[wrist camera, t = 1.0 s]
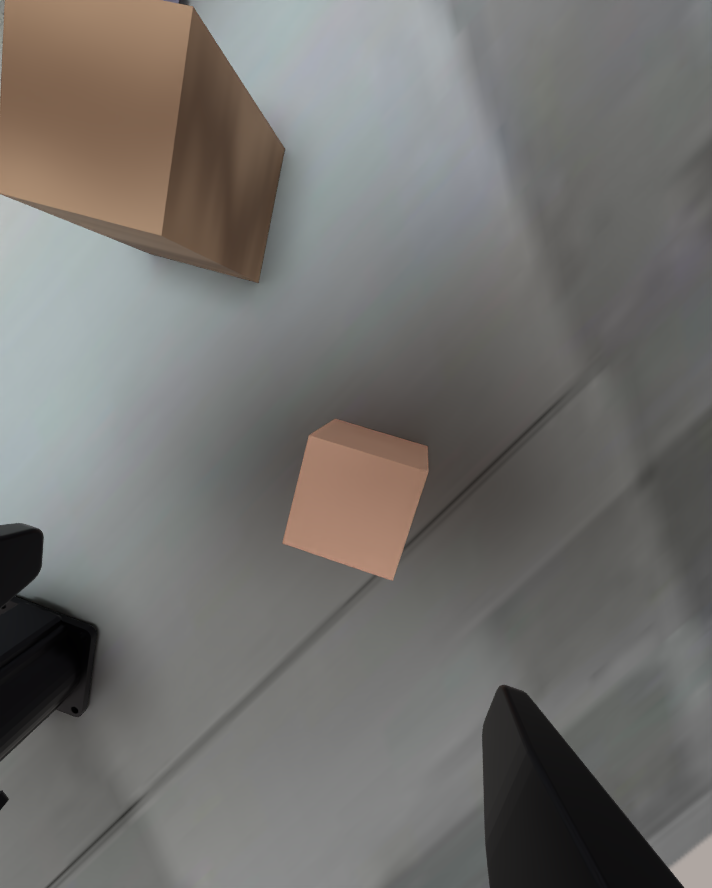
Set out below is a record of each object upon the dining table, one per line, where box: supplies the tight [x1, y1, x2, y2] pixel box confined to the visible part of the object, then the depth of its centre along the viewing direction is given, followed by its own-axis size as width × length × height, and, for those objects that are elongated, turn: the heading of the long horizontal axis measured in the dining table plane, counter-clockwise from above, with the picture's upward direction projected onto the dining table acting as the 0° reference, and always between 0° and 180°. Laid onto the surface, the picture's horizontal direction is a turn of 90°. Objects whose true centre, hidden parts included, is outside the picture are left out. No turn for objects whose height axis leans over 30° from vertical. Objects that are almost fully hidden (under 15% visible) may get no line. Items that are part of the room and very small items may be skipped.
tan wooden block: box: [0, 0, 285, 283], centre depth 14 cm, size 6×6×7 cm
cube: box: [283, 419, 429, 581], centre depth 17 cm, size 4×4×4 cm
